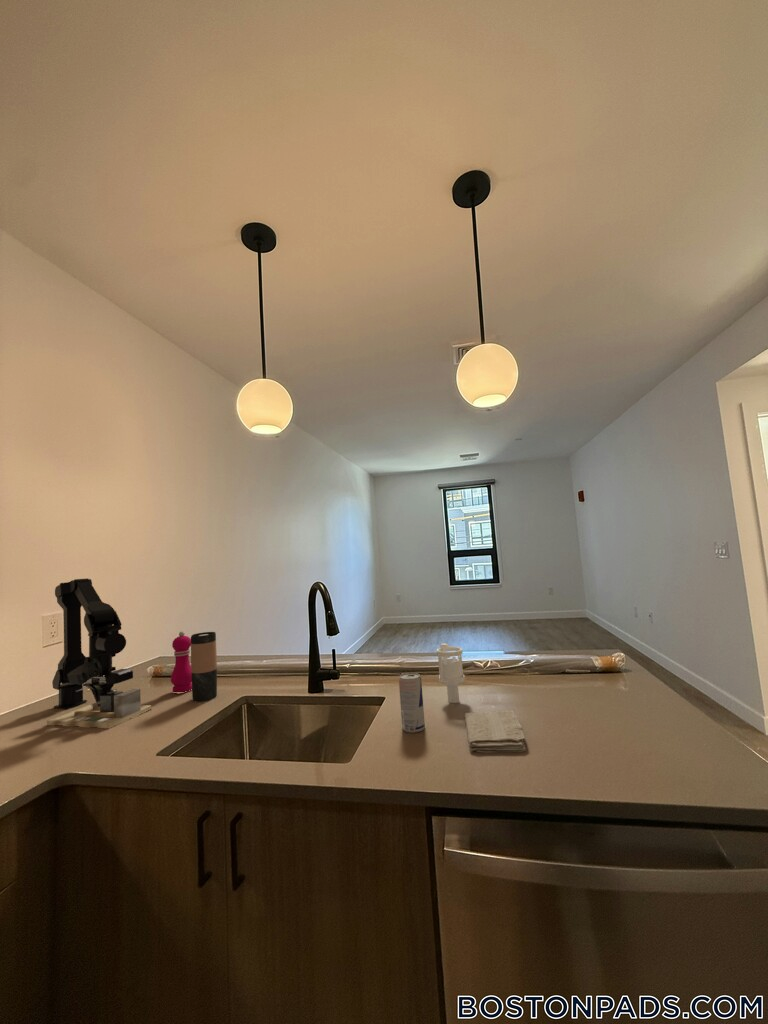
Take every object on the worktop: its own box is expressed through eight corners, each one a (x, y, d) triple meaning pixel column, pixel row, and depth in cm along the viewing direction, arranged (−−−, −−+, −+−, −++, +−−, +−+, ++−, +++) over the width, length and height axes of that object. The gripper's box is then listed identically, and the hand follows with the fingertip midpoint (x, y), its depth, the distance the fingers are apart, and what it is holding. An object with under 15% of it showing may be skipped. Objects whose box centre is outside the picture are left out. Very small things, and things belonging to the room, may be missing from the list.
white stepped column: (456, 695, 120) (452, 641, 121) (472, 702, 113) (466, 645, 115) (435, 700, 117) (431, 645, 118) (450, 707, 110) (445, 649, 112)
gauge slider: (85, 720, 117) (86, 697, 117) (112, 709, 124) (112, 688, 125) (97, 720, 116) (97, 698, 116) (123, 709, 123) (123, 688, 124)
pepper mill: (185, 694, 140) (183, 632, 142) (166, 694, 141) (165, 633, 143) (198, 687, 147) (197, 629, 149) (180, 687, 148) (179, 629, 150)
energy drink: (427, 724, 101) (423, 672, 102) (421, 734, 96) (417, 679, 97) (405, 723, 102) (402, 672, 104) (399, 732, 97) (395, 678, 99)
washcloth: (469, 756, 85) (468, 740, 85) (463, 721, 102) (462, 708, 103) (530, 755, 83) (528, 738, 84) (513, 719, 101) (511, 706, 101)
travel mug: (223, 694, 136) (221, 631, 138) (203, 703, 129) (202, 636, 131) (205, 693, 139) (204, 631, 141) (186, 701, 132) (184, 636, 134)
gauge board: (46, 725, 120) (47, 698, 120) (93, 707, 133) (93, 683, 134) (109, 728, 113) (109, 700, 114) (151, 709, 126) (151, 684, 127)
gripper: (49, 658, 120) (48, 715, 118) (99, 658, 115) (99, 717, 113) (86, 649, 131) (86, 701, 129) (134, 648, 125) (134, 703, 124)
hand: (100, 706), depth 123 cm, fingers closed
